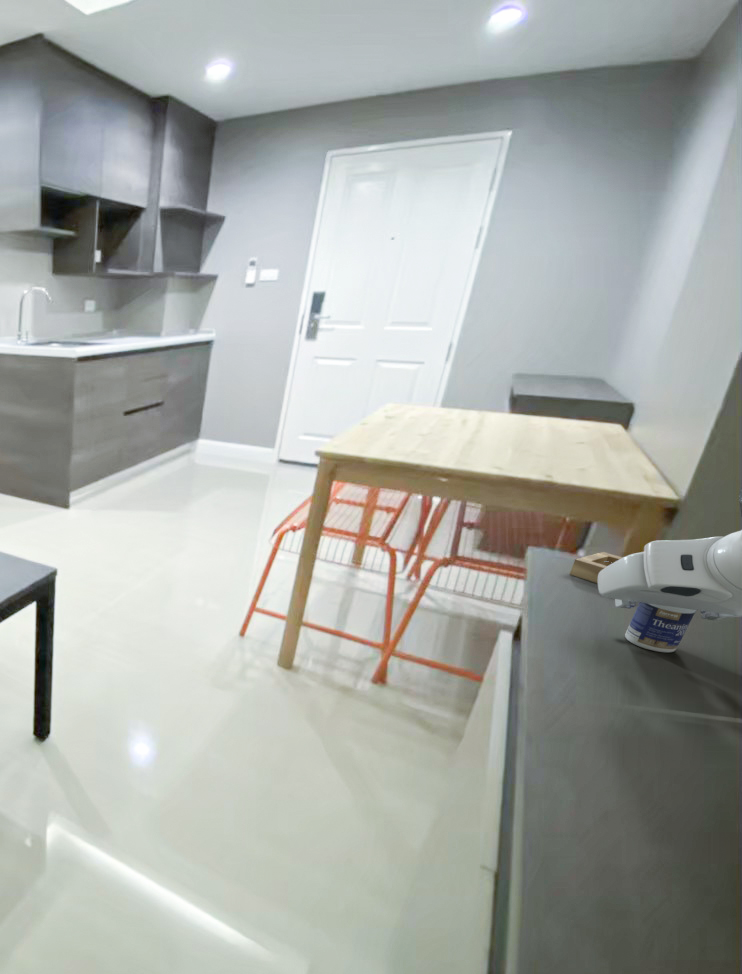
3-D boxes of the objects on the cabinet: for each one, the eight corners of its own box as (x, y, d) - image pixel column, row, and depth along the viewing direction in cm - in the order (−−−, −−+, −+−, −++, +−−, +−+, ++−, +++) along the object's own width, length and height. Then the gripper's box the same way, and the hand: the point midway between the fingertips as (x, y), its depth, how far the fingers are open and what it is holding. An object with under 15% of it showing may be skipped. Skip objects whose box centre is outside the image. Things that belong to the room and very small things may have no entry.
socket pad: (596, 566, 114) (602, 551, 112) (659, 585, 106) (666, 570, 105) (569, 574, 110) (575, 559, 109) (631, 594, 103) (639, 578, 102)
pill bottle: (640, 651, 86) (669, 589, 82) (614, 632, 91) (641, 573, 87) (686, 656, 85) (717, 594, 81) (657, 636, 90) (686, 577, 86)
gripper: (857, 562, 71) (758, 600, 84) (635, 538, 78) (574, 577, 91) (868, 612, 69) (765, 644, 82) (639, 583, 76) (576, 616, 89)
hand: (663, 608), depth 86 cm, fingers open, 8 cm apart
